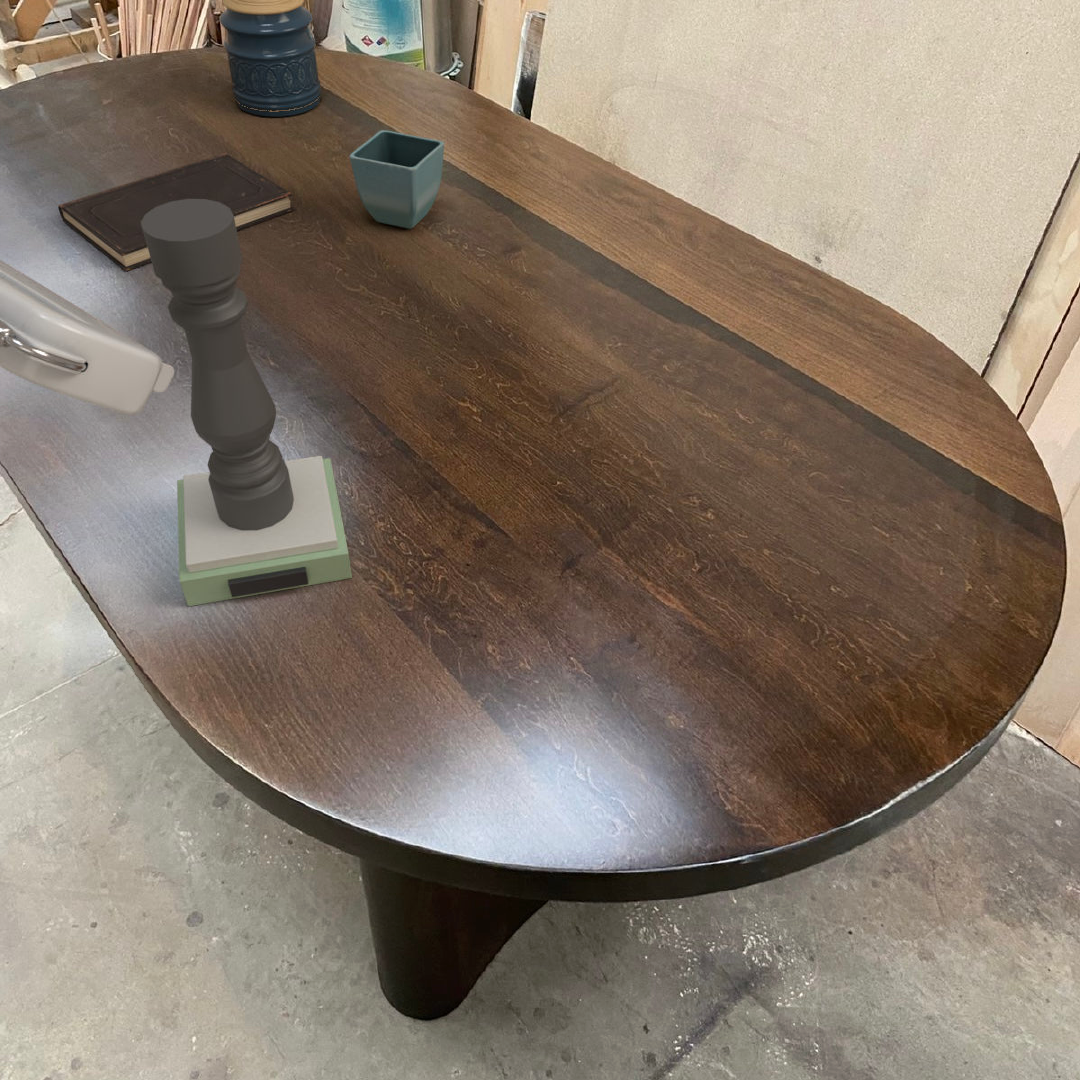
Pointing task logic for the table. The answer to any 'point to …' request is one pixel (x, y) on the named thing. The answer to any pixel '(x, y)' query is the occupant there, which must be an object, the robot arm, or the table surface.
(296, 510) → the scale
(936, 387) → the table surface
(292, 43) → the canister
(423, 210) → the flower pot
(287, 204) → the hardcover book
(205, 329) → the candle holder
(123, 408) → the robot arm
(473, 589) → the table surface
